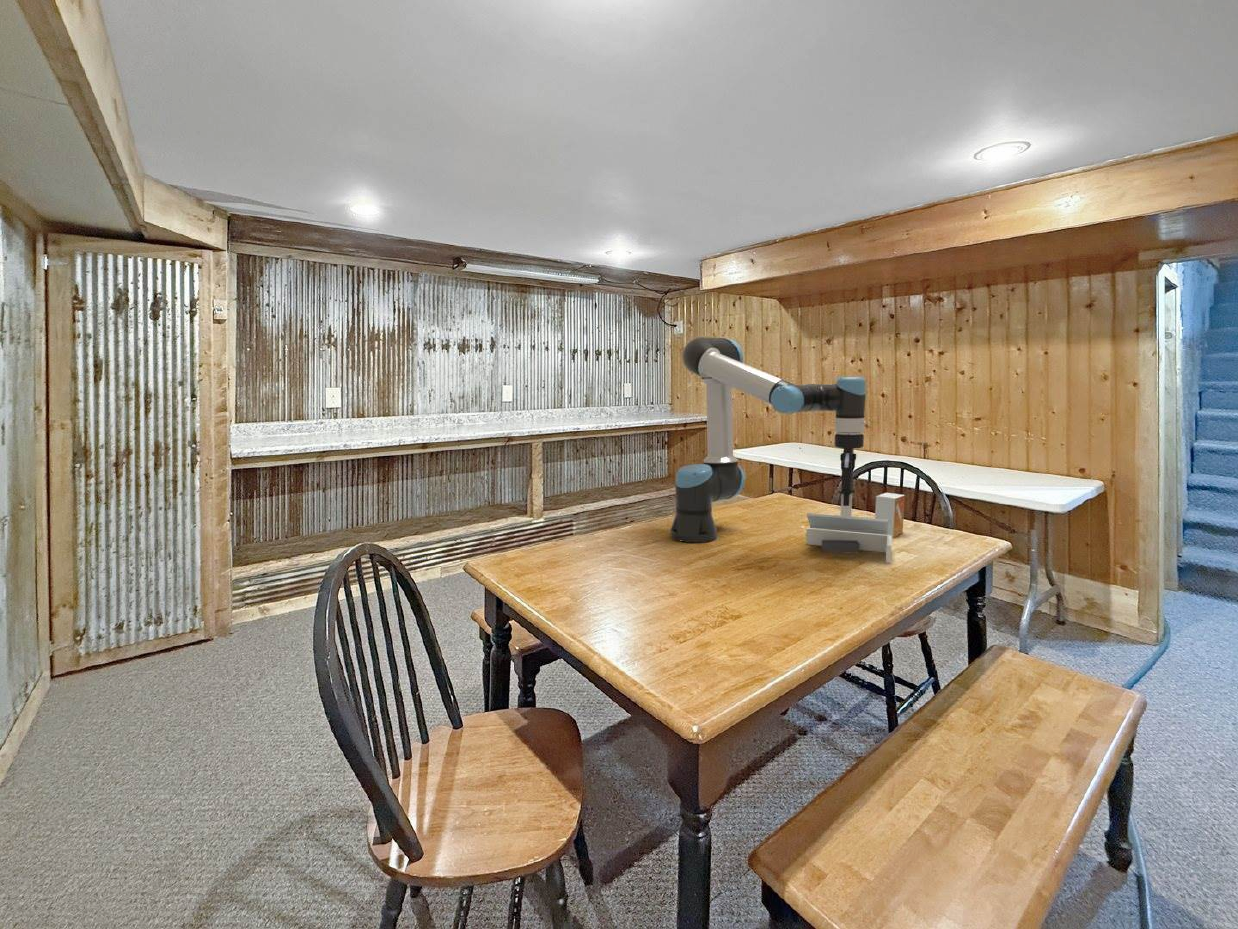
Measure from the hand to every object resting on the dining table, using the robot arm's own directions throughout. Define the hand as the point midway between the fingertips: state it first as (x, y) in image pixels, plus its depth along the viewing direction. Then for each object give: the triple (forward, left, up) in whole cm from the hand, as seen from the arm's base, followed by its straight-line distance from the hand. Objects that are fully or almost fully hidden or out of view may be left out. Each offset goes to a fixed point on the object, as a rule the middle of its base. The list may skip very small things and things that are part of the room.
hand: (845, 516), depth 166 cm
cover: (0, +6, -4) cm, 7 cm away
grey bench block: (0, +7, -12) cm, 14 cm away
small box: (+11, +33, -13) cm, 37 cm away
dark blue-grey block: (-2, +8, -13) cm, 15 cm away
